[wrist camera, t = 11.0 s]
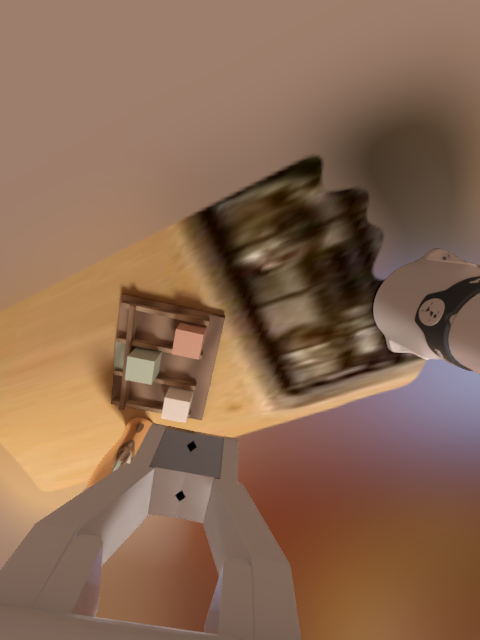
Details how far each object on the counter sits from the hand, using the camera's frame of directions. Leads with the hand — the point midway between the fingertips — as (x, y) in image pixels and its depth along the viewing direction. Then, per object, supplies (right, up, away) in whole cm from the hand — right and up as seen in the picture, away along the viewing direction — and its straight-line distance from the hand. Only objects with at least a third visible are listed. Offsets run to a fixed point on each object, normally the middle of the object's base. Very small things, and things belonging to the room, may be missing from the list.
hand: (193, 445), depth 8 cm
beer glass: (-19, -18, +42) cm, 50 cm away
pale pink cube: (-10, -11, +38) cm, 41 cm away
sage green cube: (-15, -3, +36) cm, 39 cm away
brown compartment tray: (-12, -3, +37) cm, 39 cm away
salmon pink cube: (-7, +2, +34) cm, 35 cm away
